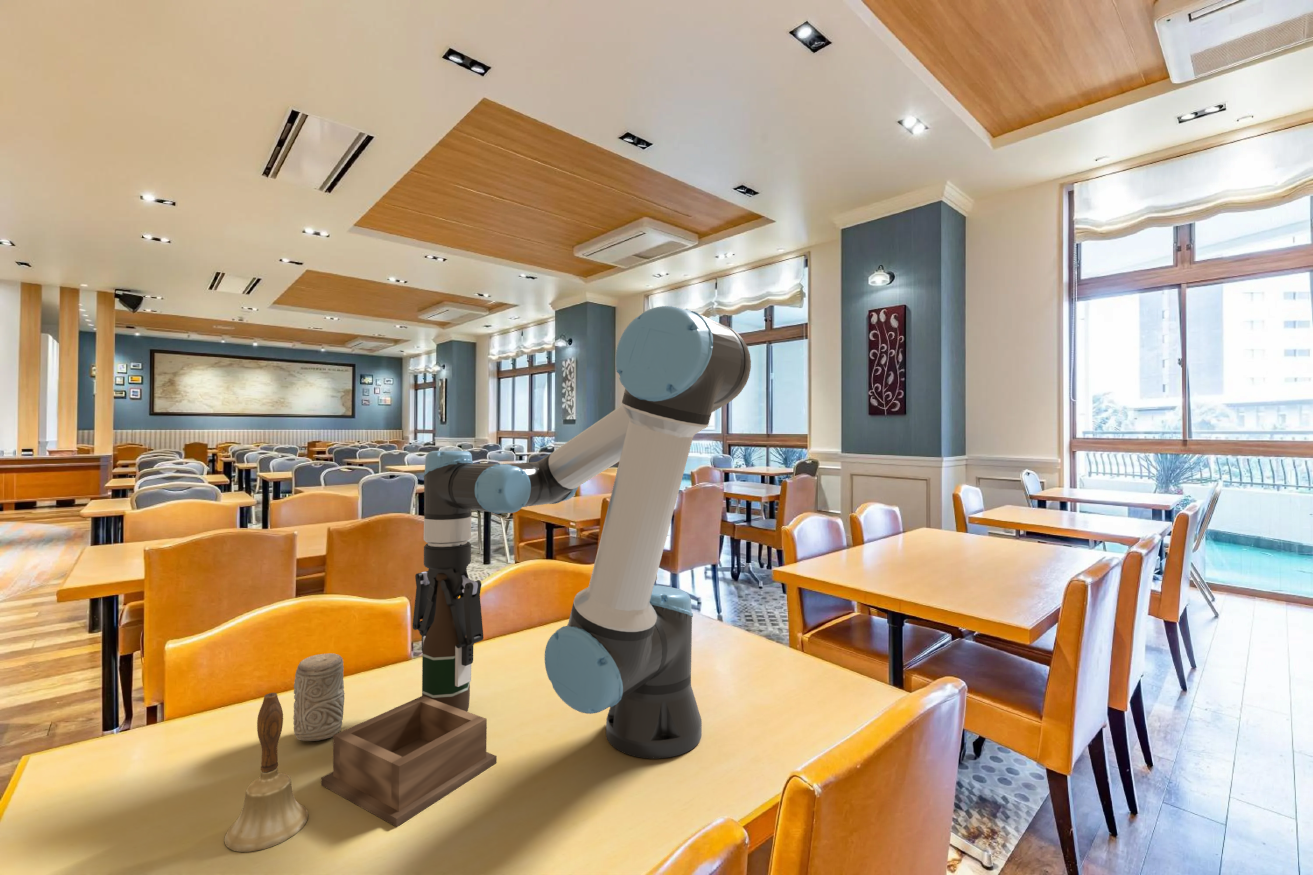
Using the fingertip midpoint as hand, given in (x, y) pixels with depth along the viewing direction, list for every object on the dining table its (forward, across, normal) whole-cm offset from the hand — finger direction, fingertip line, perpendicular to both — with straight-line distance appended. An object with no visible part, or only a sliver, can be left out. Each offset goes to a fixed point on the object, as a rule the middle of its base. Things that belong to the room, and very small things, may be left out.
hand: (446, 677), depth 97 cm
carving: (+6, +11, +15) cm, 20 cm away
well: (+6, -10, +14) cm, 18 cm away
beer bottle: (+6, 0, 0) cm, 6 cm away
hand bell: (+6, -5, +30) cm, 31 cm away
